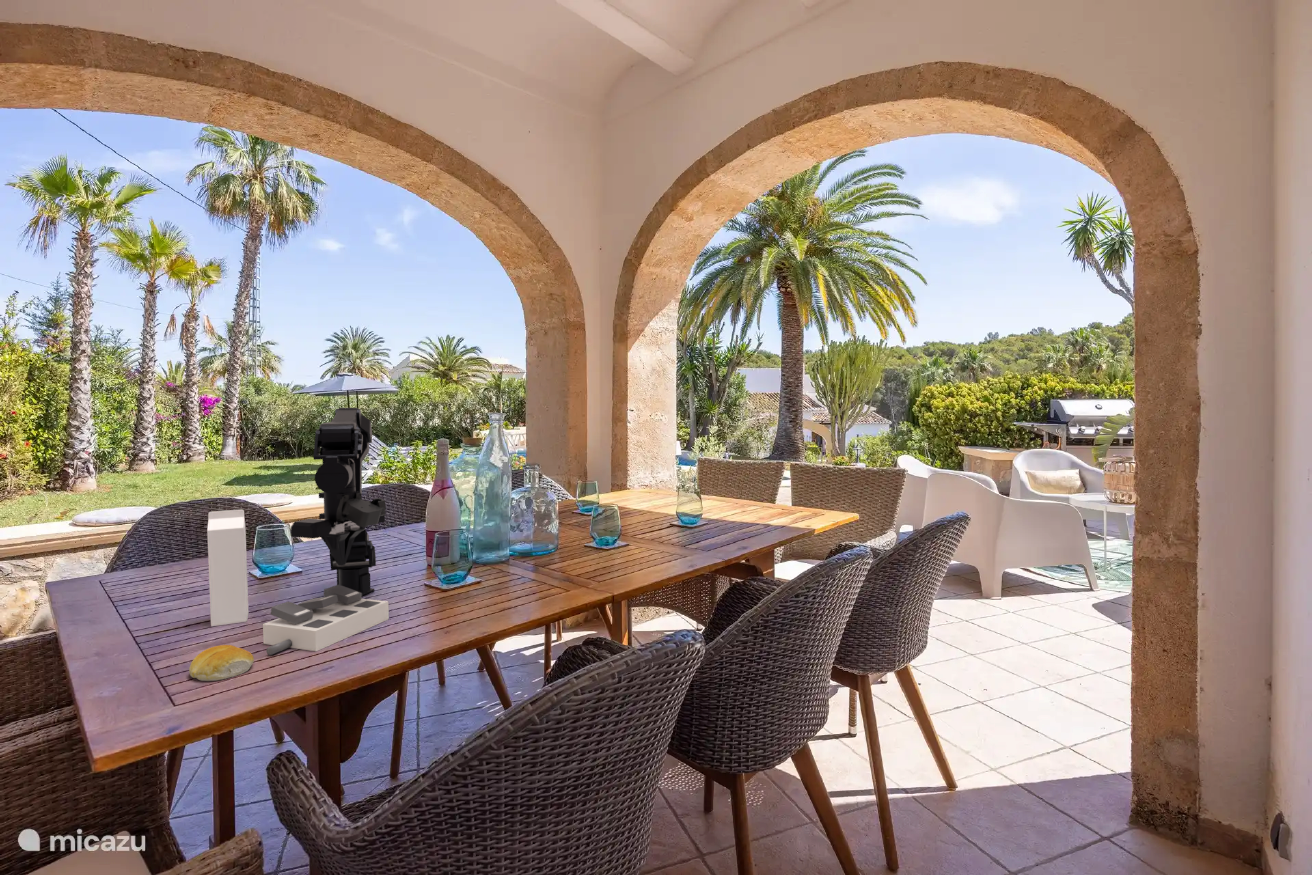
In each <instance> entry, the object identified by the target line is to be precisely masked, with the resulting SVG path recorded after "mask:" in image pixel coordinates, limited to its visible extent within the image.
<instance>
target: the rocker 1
mask: <svg viewBox="0 0 1312 875" xmlns="http://www.w3.org/2000/svg"><path fill="white" fill-rule="evenodd" d="M270 615H271V616H274V617H276V618H277V619H278V618H281V619H283V620H286V621H288V622H291V623H293V624H299V623H301V622H304V621H306V620H309V619H312V617H313V611H312V610H309V609H307V608H304V607H302V606H299V605H298V604H296V603H294V602H291V601H286V602H282V603H279V604H277V605H274V606H271V609H270Z"/></svg>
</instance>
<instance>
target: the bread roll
mask: <svg viewBox="0 0 1312 875" xmlns="http://www.w3.org/2000/svg"><path fill="white" fill-rule="evenodd" d="M254 659H255V658H254V655H253V654H252V653H251V652H250V651H248V650H246V649H244V648H241V647H237V646H235V645H232V644H221V645H216V646H215V645H214V646H212V647H209V648H206V649H204V650H203V651H201V652H200V653H198V654H197V655H196V656H195V657H194V658H193V659H192V661H191V663H190V666H189V669H188V672H189V676H190V677H191V678H193V679H196V680H199V681H202V682H213V681H214V682H216V681H222V680H226V679H227V680H228V679H230V678H233V677H236V676H240V675H242V674H244V673H246V672H248V671H249V670H250V668H251V667H252V665H253V664H254V662H255V660H254Z"/></svg>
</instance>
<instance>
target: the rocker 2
mask: <svg viewBox="0 0 1312 875" xmlns="http://www.w3.org/2000/svg"><path fill="white" fill-rule="evenodd" d="M334 595H337V598H338V602H341V603H344V604H346V605H348V604H351V603H354V602H356V601H359V600H361V598H362V596H363V595H362V593H360V592H358V591H355V590H352V589H349V588H347V587H344V586H341V585H337V584H336V585H333V586H330V587H327V588H324V590H323V597H327V596H334Z"/></svg>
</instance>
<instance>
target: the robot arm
mask: <svg viewBox="0 0 1312 875" xmlns="http://www.w3.org/2000/svg"><path fill="white" fill-rule="evenodd" d="M334 411H335V412H334V417H333V418H332V419H331V421H328V422H322V423H320V425H319V427H318V428H319V429H316V430H315V435H314V437H315V438H314V446H313V456H312V458H313V460H315V461H316V460H322V463H321V464H322V465H320V466H319V467H318V468H317V470H316V471H315V474H314V482H315V484H316V486H317V487H318V489H320V491H321V492H318V499H323V512H322V513H321V512H320V513H319V514H318V517H319V519H318V518H317V519H316V518H306V519H301V520H297V521H294V522H293V523H292V525H291V526H290V537H292V538H304V539H318V538H321V540H322V541H323V542H324V544H325V545H326V547H327V548H328V550H329V562H330V571H336V585H341V586H344V587H347V588H349V589H352V590H355V591H358V592H360V593H362V596H364V595H368V594H370V593H372V592H375V588H371V573H370V568H373V567H375V566H377V557H376V554H377V553H376V547H375V546H374V544H373V542H372V540H370V534H369V533H368V531H367V530H366V528H367V527H369V526H372V525H375V526H376V525H378V524H381V523H385V522H386V519H385V516H386V510H387V508H386V501H385V499H383V498H381V497H378V498H377V497H376V498H373V499H372V500H364V499H363V496H362V494H363V492H362V491H363V489H362V487H363V485H362V482H363V481H362V480H363V478H362V477H363V461H364V460H365V458H366V457H367V455H368V454H369V452H370V444H372V443H373V430H372V429H373V428H372V423H371V420H370V419H369V418H367V416H364V415H363V414H362V411H361V408H358V407H339V408H335V410H334Z"/></svg>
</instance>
